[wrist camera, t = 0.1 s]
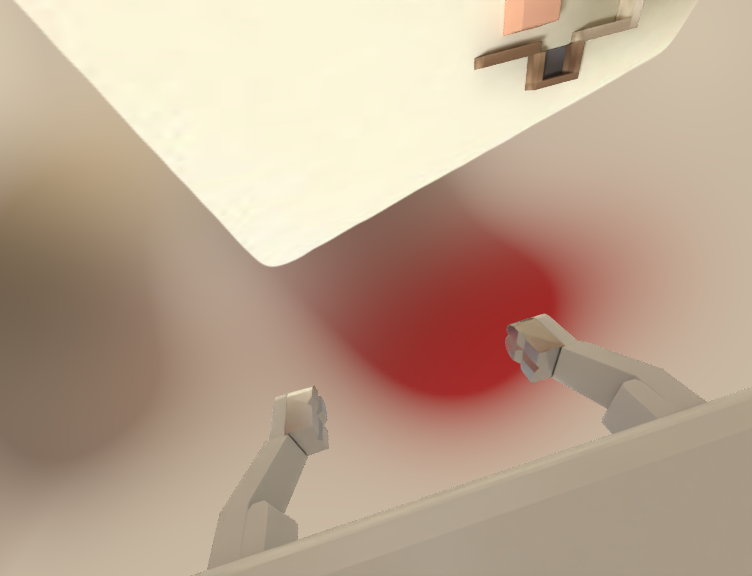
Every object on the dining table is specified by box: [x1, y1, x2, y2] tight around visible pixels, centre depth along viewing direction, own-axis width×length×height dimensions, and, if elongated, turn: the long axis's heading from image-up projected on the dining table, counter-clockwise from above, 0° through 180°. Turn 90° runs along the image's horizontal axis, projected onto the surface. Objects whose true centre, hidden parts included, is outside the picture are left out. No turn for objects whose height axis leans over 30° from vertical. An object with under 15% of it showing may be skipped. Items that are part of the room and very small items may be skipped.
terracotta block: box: [503, 0, 561, 36], centre depth 41 cm, size 6×6×5 cm
